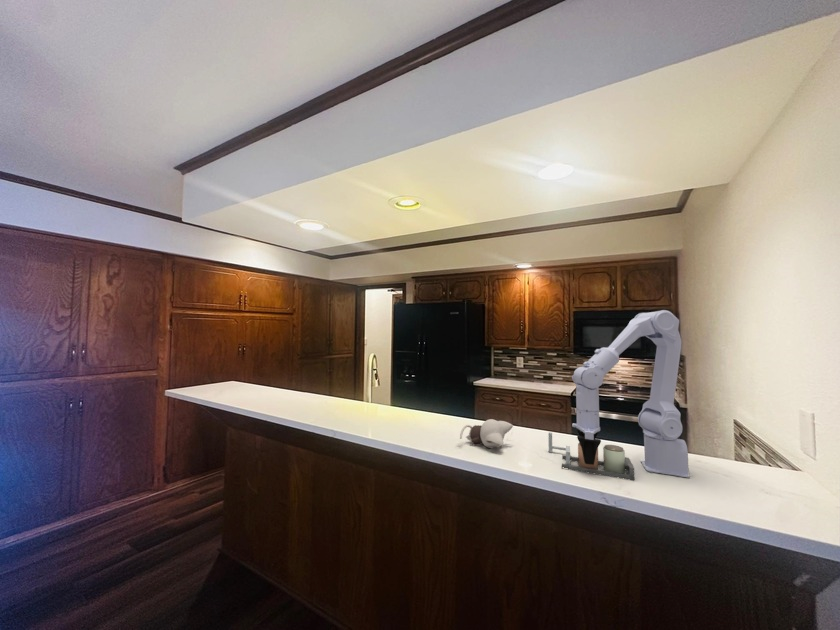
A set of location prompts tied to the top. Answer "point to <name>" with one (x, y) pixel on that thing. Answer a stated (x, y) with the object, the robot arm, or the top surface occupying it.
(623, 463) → the jar
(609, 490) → the top surface
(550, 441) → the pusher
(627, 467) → the lane
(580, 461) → the jar
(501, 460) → the top surface
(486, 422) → the toy
